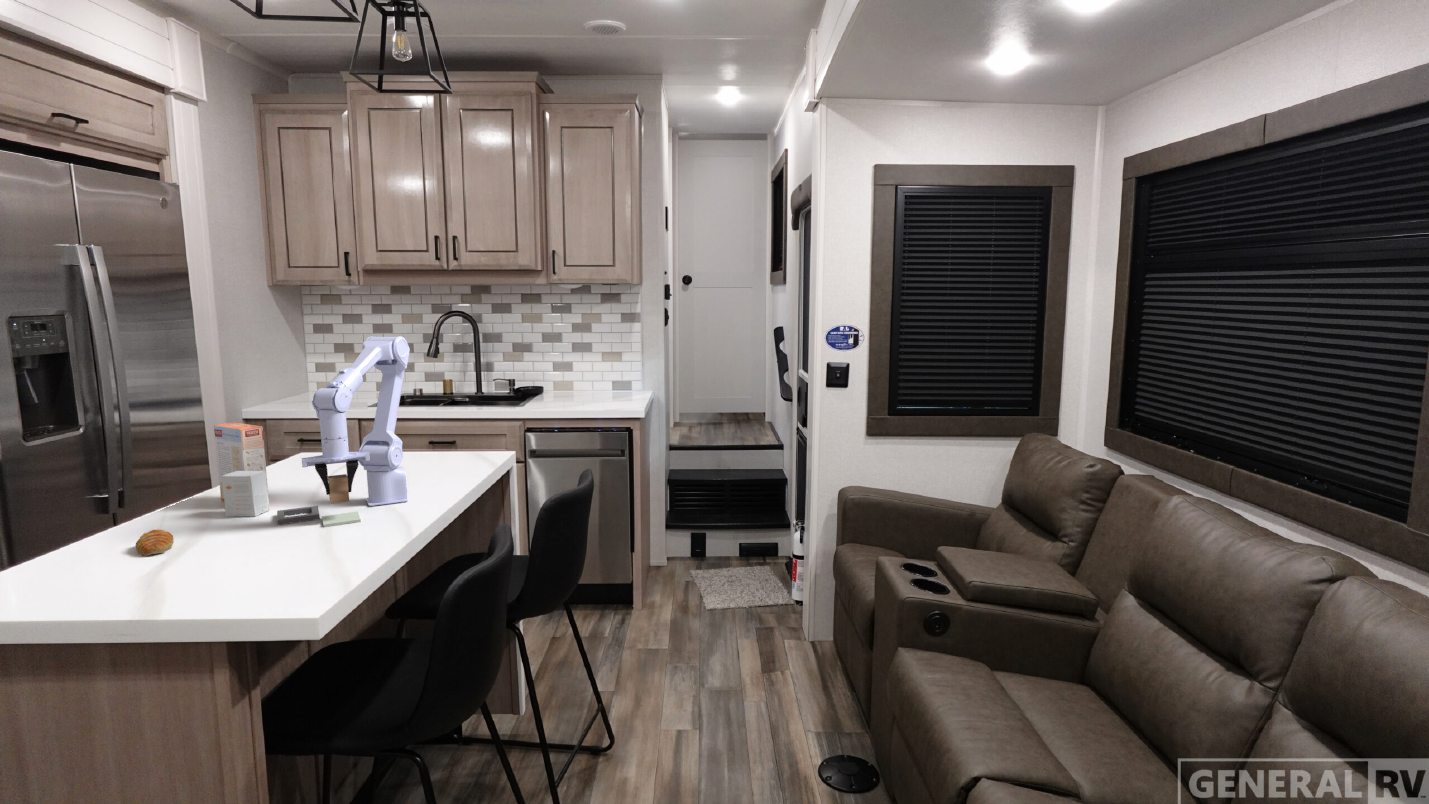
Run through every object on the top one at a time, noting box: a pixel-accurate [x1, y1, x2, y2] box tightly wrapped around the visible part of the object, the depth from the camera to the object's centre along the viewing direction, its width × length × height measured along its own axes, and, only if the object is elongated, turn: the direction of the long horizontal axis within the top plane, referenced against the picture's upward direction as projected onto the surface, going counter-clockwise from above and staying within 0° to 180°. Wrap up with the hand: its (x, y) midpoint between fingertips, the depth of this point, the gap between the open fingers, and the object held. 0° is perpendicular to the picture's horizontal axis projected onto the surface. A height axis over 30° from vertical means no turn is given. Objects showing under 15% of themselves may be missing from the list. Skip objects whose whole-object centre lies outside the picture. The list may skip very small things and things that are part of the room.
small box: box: [221, 471, 271, 517], centre depth 188 cm, size 8×6×10 cm
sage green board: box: [321, 511, 362, 528], centre depth 182 cm, size 8×8×1 cm
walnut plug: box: [328, 473, 350, 505], centre depth 181 cm, size 4×4×6 cm
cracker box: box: [213, 422, 269, 502], centre depth 198 cm, size 14×6×21 cm, turn 58°
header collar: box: [276, 505, 320, 525], centre depth 185 cm, size 9×9×1 cm
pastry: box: [134, 528, 175, 557], centre depth 162 cm, size 9×7×4 cm
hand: (338, 492), depth 181 cm, fingers closed on walnut plug, 4 cm apart
